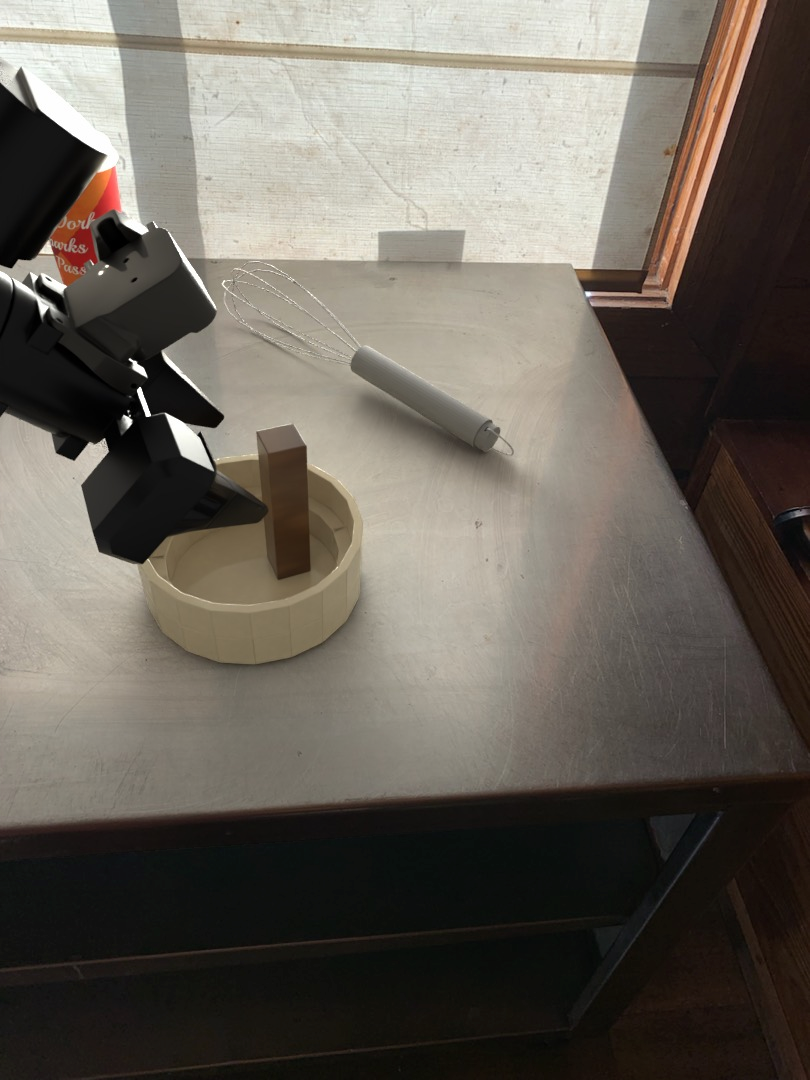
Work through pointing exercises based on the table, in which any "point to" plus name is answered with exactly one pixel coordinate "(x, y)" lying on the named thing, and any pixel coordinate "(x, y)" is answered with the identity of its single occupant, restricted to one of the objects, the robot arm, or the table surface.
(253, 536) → the bowl
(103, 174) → the coffee cup
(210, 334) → the table surface
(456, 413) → the kitchen whisk
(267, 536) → the stir stick
